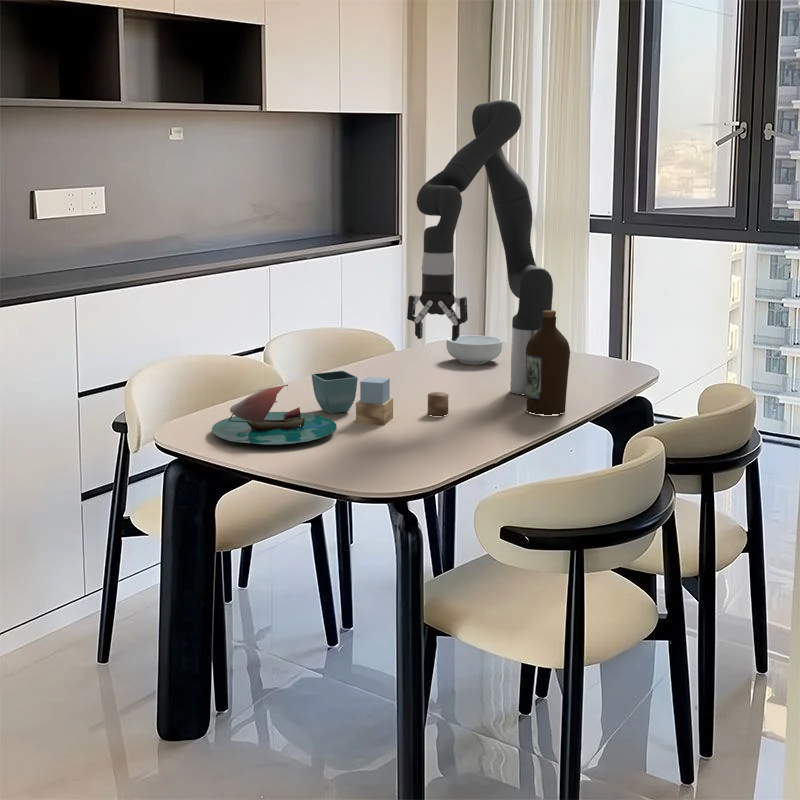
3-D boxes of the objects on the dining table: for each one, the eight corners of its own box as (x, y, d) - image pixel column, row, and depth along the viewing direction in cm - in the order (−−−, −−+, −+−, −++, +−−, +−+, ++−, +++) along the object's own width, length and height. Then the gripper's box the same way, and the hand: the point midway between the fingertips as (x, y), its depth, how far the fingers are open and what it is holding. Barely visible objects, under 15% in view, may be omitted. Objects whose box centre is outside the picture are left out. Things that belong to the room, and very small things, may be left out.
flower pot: (325, 417, 264) (325, 380, 262) (311, 409, 271) (310, 373, 269) (358, 413, 268) (358, 377, 265) (343, 405, 275) (343, 370, 273)
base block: (393, 418, 263) (393, 398, 262) (384, 425, 256) (384, 404, 255) (365, 416, 265) (365, 396, 264) (355, 423, 258) (355, 402, 257)
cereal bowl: (504, 368, 320) (504, 344, 319) (446, 367, 321) (447, 344, 319) (499, 357, 337) (500, 334, 335) (445, 356, 337) (445, 333, 335)
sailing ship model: (199, 425, 256) (197, 378, 253) (313, 414, 266) (312, 369, 264) (230, 456, 231) (228, 405, 228) (354, 443, 241) (354, 393, 239)
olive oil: (553, 405, 276) (556, 306, 270) (575, 415, 266) (580, 312, 260) (515, 409, 272) (518, 309, 266) (537, 419, 262) (541, 315, 256)
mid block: (389, 398, 261) (389, 378, 260) (382, 404, 256) (382, 383, 255) (367, 397, 263) (367, 376, 261) (360, 402, 257) (360, 381, 256)
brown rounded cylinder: (450, 412, 268) (450, 392, 267) (445, 417, 264) (445, 397, 262) (430, 411, 270) (430, 391, 268) (425, 416, 265) (425, 396, 264)
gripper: (471, 271, 260) (469, 338, 264) (413, 268, 264) (412, 335, 268) (463, 274, 253) (462, 343, 257) (404, 272, 257) (403, 340, 261)
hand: (436, 339), depth 263 cm, fingers open, 8 cm apart
